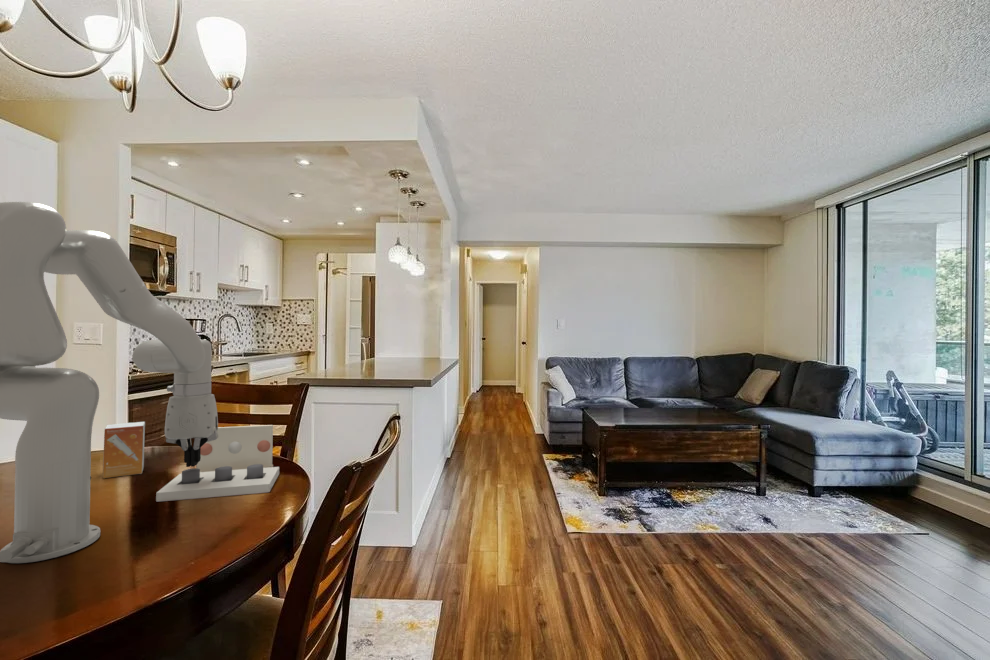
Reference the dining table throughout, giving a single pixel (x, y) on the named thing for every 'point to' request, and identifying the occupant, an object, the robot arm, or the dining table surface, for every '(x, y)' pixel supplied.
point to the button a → (191, 476)
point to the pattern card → (238, 448)
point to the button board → (218, 485)
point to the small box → (123, 449)
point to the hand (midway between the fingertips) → (192, 465)
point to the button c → (255, 471)
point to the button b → (223, 474)
